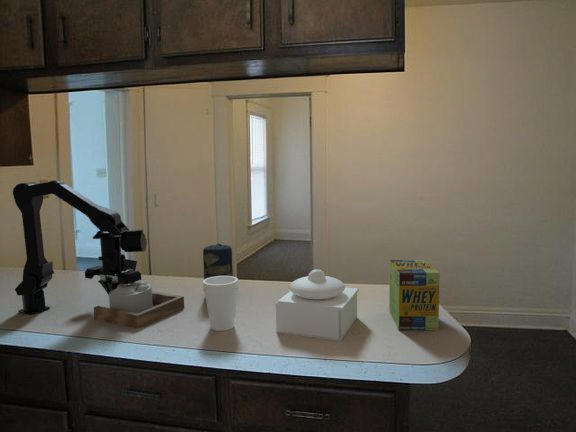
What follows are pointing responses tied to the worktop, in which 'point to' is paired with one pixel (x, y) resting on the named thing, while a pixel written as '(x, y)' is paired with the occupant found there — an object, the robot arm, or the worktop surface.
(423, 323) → the protein box
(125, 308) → the lumpy-topped squat cylinder
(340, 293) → the white lidded box
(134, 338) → the worktop surface
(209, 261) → the canister
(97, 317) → the bay
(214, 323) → the foam cup
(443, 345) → the worktop surface
